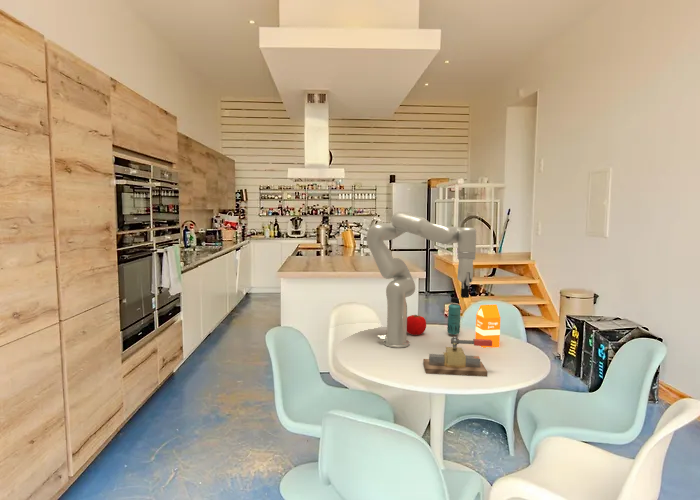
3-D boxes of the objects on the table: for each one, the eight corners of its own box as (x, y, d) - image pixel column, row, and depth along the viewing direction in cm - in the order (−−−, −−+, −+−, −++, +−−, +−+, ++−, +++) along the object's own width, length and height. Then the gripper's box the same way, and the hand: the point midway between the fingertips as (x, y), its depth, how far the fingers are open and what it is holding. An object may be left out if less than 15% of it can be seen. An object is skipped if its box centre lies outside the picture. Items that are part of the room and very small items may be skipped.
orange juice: (499, 347, 212) (501, 306, 210) (482, 348, 210) (484, 306, 209) (491, 342, 220) (492, 302, 218) (474, 343, 218) (476, 303, 216)
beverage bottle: (445, 333, 234) (446, 296, 232) (457, 333, 235) (458, 296, 233) (449, 337, 228) (450, 299, 226) (461, 337, 228) (463, 299, 227)
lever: (450, 342, 181) (450, 335, 181) (490, 344, 180) (490, 337, 179) (451, 344, 178) (451, 338, 178) (492, 346, 176) (492, 339, 176)
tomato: (406, 337, 227) (406, 317, 226) (401, 331, 238) (402, 312, 237) (428, 337, 228) (429, 317, 227) (423, 331, 239) (424, 312, 238)
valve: (430, 366, 178) (430, 345, 177) (428, 361, 184) (429, 341, 183) (480, 368, 176) (481, 347, 175) (477, 363, 182) (478, 343, 182)
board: (425, 373, 175) (425, 368, 175) (423, 363, 187) (423, 358, 187) (487, 376, 173) (487, 371, 173) (480, 366, 185) (481, 361, 185)
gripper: (454, 254, 199) (453, 294, 201) (461, 257, 185) (459, 300, 186) (471, 254, 199) (469, 294, 201) (479, 257, 184) (477, 301, 186)
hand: (464, 297), depth 193 cm, fingers closed
